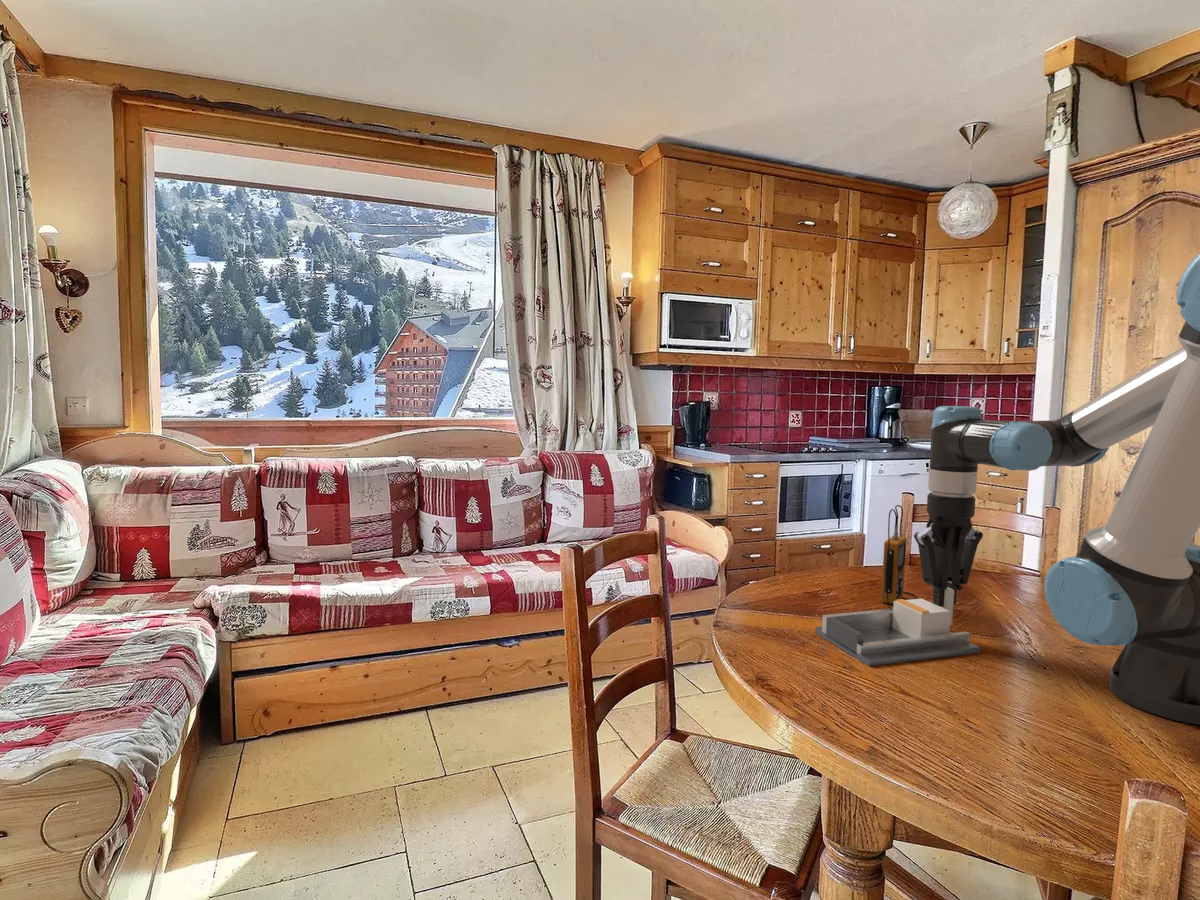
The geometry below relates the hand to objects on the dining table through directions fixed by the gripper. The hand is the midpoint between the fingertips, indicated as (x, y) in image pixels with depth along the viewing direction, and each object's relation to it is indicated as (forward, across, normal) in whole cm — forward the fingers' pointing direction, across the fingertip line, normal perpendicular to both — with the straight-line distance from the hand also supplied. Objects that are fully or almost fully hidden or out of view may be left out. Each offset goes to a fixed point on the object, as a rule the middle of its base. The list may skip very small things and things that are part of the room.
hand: (942, 622), depth 120 cm
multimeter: (+3, -7, -17) cm, 19 cm away
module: (+2, +5, 0) cm, 5 cm away
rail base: (+3, +10, 0) cm, 11 cm away
